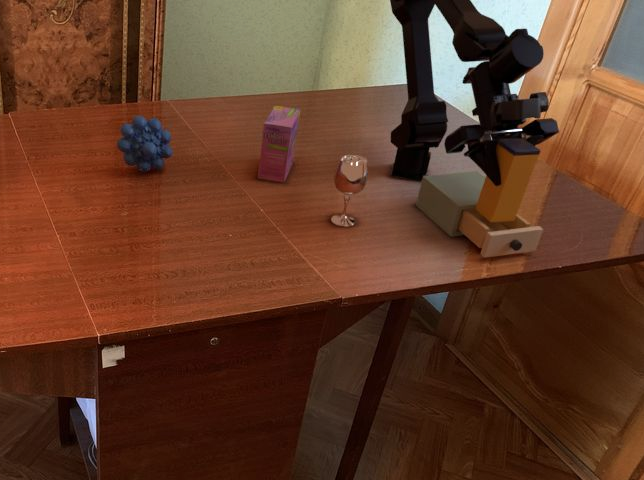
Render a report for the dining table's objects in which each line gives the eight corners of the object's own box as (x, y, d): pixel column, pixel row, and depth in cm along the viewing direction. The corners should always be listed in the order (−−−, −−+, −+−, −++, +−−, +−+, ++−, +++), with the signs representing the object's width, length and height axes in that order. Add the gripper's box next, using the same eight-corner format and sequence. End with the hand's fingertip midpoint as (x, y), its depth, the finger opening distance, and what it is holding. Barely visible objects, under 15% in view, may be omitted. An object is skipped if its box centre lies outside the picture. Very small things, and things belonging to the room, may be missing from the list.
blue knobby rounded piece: (124, 184, 150) (122, 126, 143) (114, 170, 155) (112, 113, 148) (178, 177, 154) (180, 119, 146) (167, 163, 159) (168, 107, 151)
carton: (490, 222, 131) (515, 151, 123) (474, 209, 135) (498, 139, 127) (514, 220, 132) (541, 150, 124) (498, 207, 136) (522, 138, 128)
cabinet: (505, 230, 140) (515, 200, 136) (450, 236, 137) (459, 206, 133) (468, 199, 149) (476, 170, 146) (415, 205, 147) (422, 176, 143)
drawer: (540, 254, 131) (548, 232, 129) (488, 261, 129) (495, 239, 126) (497, 220, 141) (504, 199, 138) (448, 226, 138) (454, 204, 136)
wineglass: (360, 216, 142) (372, 156, 135) (356, 230, 138) (368, 169, 131) (330, 211, 144) (340, 151, 136) (324, 224, 139) (334, 163, 132)
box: (284, 183, 153) (292, 126, 146) (257, 179, 154) (263, 122, 147) (293, 163, 161) (301, 108, 153) (267, 159, 162) (273, 105, 155)
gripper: (472, 77, 120) (493, 171, 118) (572, 70, 124) (592, 161, 122) (434, 108, 130) (453, 195, 129) (527, 101, 135) (546, 185, 133)
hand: (511, 183), depth 128 cm, fingers closed on carton, 5 cm apart
